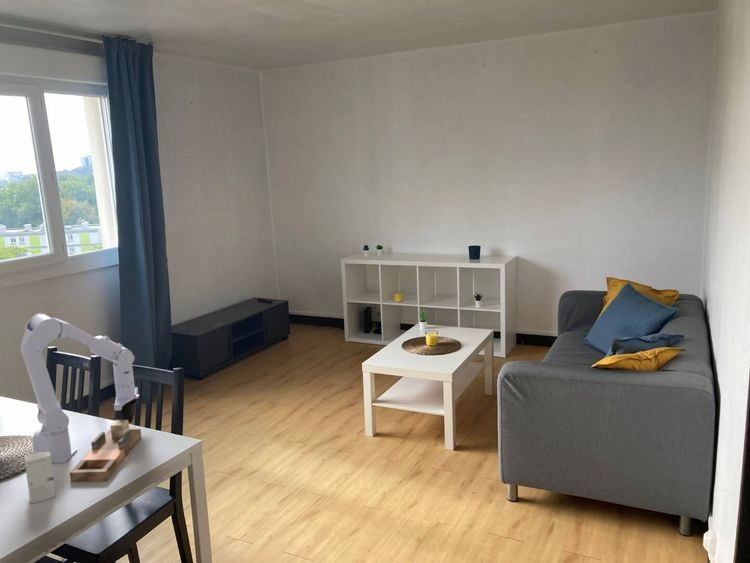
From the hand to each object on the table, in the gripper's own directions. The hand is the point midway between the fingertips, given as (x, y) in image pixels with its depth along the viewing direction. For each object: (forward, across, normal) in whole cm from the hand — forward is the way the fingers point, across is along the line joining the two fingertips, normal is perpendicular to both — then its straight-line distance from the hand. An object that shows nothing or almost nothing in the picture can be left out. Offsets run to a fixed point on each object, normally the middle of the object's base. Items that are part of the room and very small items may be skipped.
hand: (129, 421), depth 195 cm
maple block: (+1, -7, 0) cm, 7 cm away
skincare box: (+4, -37, +9) cm, 38 cm away
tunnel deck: (+4, -17, 0) cm, 17 cm away
